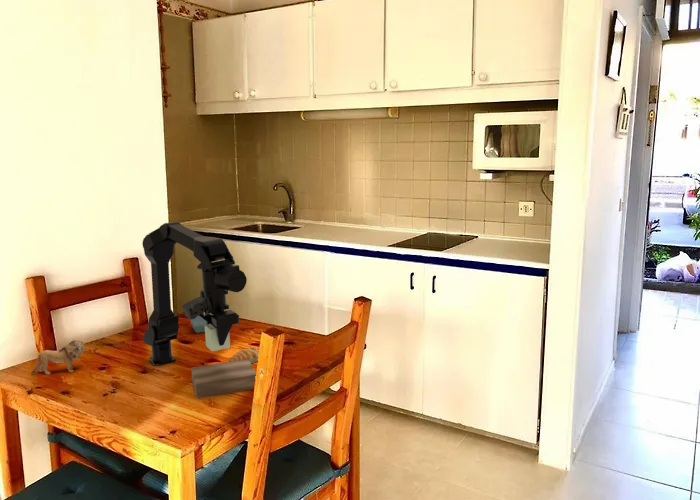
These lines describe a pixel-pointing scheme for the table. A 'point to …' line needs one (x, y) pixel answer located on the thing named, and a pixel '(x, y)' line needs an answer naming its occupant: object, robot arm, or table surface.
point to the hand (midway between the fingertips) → (218, 342)
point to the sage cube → (214, 339)
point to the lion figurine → (60, 356)
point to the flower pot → (198, 324)
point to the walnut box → (223, 378)
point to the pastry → (246, 355)
